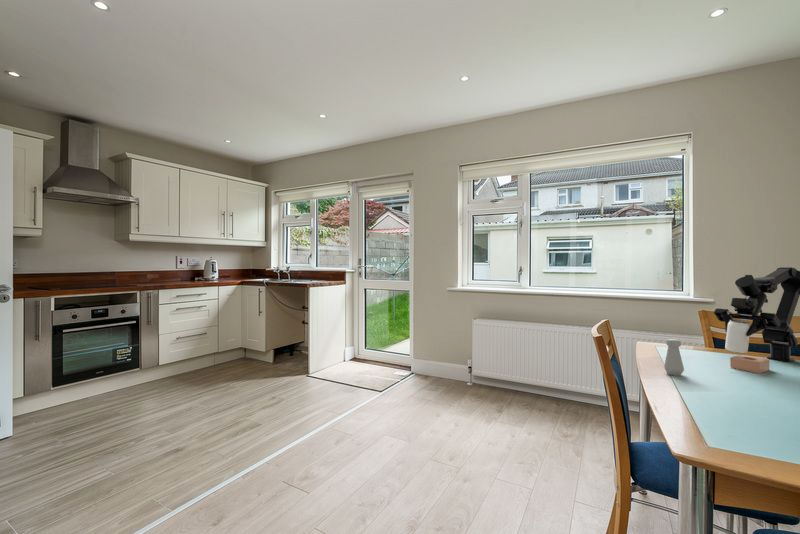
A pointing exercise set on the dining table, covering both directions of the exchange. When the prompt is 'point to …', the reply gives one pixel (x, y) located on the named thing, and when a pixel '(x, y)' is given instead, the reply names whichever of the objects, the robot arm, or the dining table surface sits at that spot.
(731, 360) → the peach block
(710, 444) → the dining table surface
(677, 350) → the salt shaker
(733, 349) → the can
